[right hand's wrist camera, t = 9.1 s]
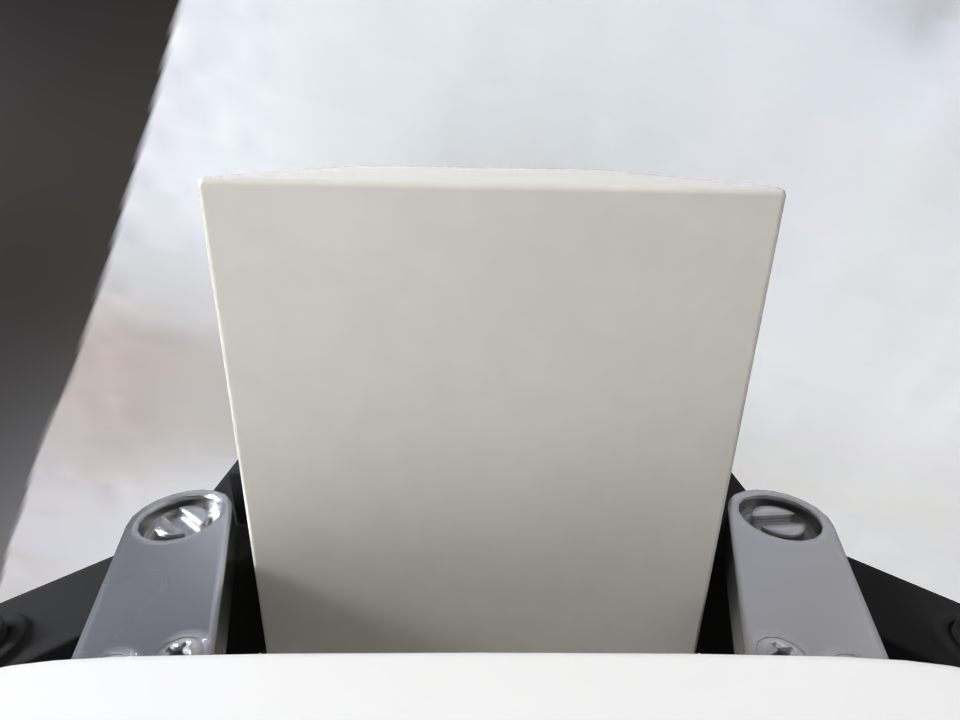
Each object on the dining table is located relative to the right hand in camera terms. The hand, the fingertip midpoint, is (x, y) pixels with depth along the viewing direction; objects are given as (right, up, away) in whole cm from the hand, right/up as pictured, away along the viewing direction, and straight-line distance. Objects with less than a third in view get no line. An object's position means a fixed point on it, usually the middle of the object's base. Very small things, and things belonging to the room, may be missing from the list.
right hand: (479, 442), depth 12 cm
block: (0, -22, +11) cm, 24 cm away
